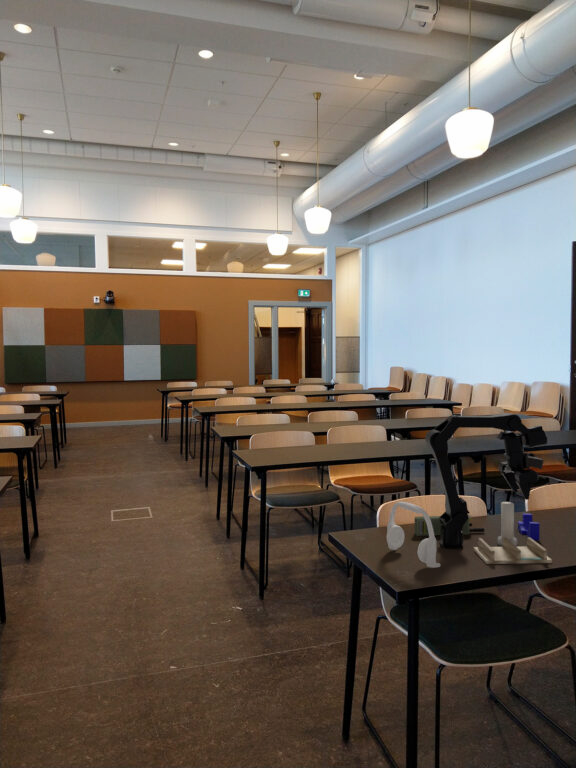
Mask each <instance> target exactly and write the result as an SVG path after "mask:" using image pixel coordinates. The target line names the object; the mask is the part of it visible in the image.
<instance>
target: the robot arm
mask: <svg viewBox="0 0 576 768" xmlns="http://www.w3.org/2000/svg"><path fill="white" fill-rule="evenodd" d="M460 428H461V429H462V428H463V429H465V428H466V429H468V428H470V429H471V428H473V429H474V428H475V429H477V428H478V429H479V428H480V429H482V428H483V429H489V428H491V429H496V430H501V431H500V432H499V434H498V435H496V439H498V440H500V441H502V440H503V444H504V451H505V453H503V457H504V458H506V461H501V462H499V464H498V471H499V472H500V474H501V475H502V476H503V478H504V479H505V480H506V482H507V484H508V485H509V487H510V488H511V490H512V492H513V493H514V494H515V493H518V488H519V490H520V492H521V494H522V496H523V498H524V500H526V501H527V500H529V499H530V495H531V490H532V486H533V484H534V483H535V482H537V481H539V479H540V477H539V473H538V471H535V470H533V469H531V468H536V469H538V470H543V465H544V462H545V461H544V459H543V458H541V457H538V456H535V454H534V453H532V452H525V450H524V447H526V448H528V449H530V448H531V449H532V448H535V447H536V448H537V447H543V446H547V444H548V436H547V434H546V432H545V430H544V429H543V426H542V425H540V424H539V425H534V426H529V427H527V426H526V425H525V424H523V423H522V418H521V417H520V416H519V415H518V414H515V413H511V412H502V413H496V414H494V415H493V414H492V415H455V414H452V415H449V416H448V417H447V418H446V419H444V421H442V422H441V423H439V424H438V425H437V426H435V427H434V428H433V429H431V430H429V431H428V432H427V433H426V434H425V437H424V440H425V443H426V444H427V447H428V448H429V451H430V452H431V454H432V456H433V458H434V460H435V465H436V468H437V472H438V474H439V478H440V481H441V485H442V489H443V493H444V496H445V501H444V507H445V509H444V510H445V511H444V512H443V513H442V514H441V515H439V516H440V517H439V520H440V522H441V524H442V525H443V526H441V535H440V540H438V541H439V544H440V545H441V547H442V548H443V549H463V548H464V534H463V532H462V531H461V530H462V528H463V525H464V524H465V523H466V522H467V520H468V515H471V514H470V511H469V509H468V503H467V501H466V500H465V499H464V498H463V497H460V496H459V493H458V489H457V487H456V483H455V479H454V475H453V472H452V468H451V464H450V461H449V457H448V454H449V453H448V452H449V444H448V441H449V440H450V439H451V438H452V437H453V435H454V434H455V433H456V431H457V430H459V429H460ZM505 431H507V432H505ZM515 432H518V433H515Z"/></svg>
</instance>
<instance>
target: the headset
mask: <svg viewBox="0 0 576 768" xmlns="http://www.w3.org/2000/svg"><path fill="white" fill-rule="evenodd" d="M398 507H400V508H401V509H403V510H405V511H406V510H407V511H409V512H412V513H415V514H418V515H421V516H423V517H424V518H425V521H426V524H427V528H428V533H429V535H428V538H424V539H422V540H421V541H420V543H419V545H418V547H417V556H418V557H417V558H418V560H420V561H421V562H422V563H426V567H428V568H433V569H434V568H440V567H441V563H439V562H437V560H436V558H437V557H436V554H437V538H436V537H435V536H436V535H434V531H433V527H432V523H431V520H430V517H429V516H430V515H429V514H428V512H427V511H426V510H425V509H424V508H422V507H420V506H419V505H417V504H414V503H411V502H407V501H397V502H396V503H394V504H393V506H392V507H391V510H390V513H389V518H388V522H387V524H386V529H387V533H386V542H387V544H388V549H390V550H391V551H393V550H394V551H397V549H399V548H400V547H402V546H403V544H404V542H405V531H404V529H403V528H402V527H401V526H400V525H397V524H396V522H395V515H396V512H397V510H398Z"/></svg>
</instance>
